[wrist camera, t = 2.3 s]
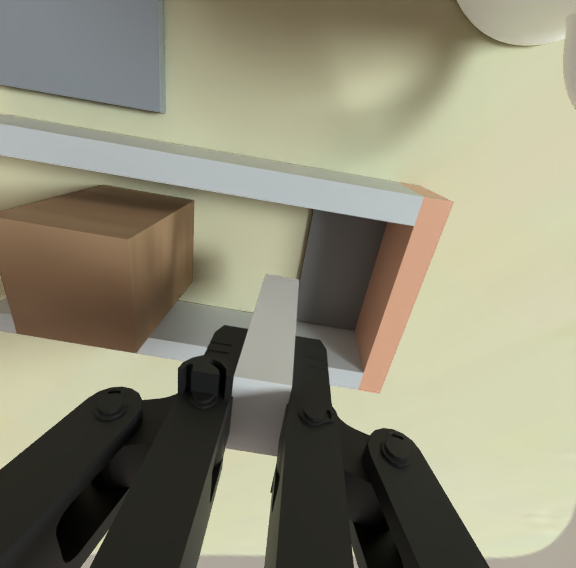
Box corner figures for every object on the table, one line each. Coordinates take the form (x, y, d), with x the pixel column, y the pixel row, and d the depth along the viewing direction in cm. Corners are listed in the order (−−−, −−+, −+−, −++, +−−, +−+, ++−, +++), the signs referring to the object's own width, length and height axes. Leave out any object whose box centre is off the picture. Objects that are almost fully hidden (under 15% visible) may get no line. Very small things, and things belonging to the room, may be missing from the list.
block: (103, 184, 17) (-16, 215, 11) (194, 200, 17) (127, 239, 11) (112, 267, 19) (16, 333, 13) (192, 281, 19) (136, 353, 13)
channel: (8, 114, 16) (-81, 109, 12) (421, 186, 16) (453, 202, 12) (46, 294, 20) (-10, 329, 17) (367, 347, 21) (379, 393, 17)
